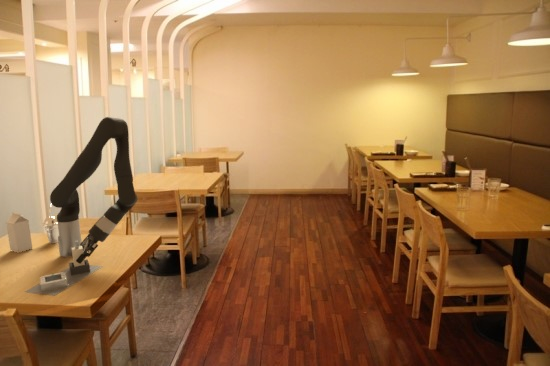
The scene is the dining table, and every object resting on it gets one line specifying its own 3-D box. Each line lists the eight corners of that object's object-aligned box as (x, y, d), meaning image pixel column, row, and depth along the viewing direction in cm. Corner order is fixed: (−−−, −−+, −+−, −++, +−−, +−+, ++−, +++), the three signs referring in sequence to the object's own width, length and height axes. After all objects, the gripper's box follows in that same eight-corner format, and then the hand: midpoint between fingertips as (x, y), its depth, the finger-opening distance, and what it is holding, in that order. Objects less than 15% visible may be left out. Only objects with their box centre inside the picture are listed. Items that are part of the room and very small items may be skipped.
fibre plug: (75, 273, 177) (71, 243, 174) (74, 269, 180) (70, 240, 178) (85, 271, 179) (82, 241, 176) (84, 267, 182) (81, 239, 180)
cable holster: (71, 275, 175) (70, 268, 174) (69, 269, 181) (69, 262, 180) (90, 271, 178) (89, 264, 178) (88, 265, 184) (87, 259, 184)
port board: (24, 295, 161) (24, 291, 160) (76, 267, 187) (75, 263, 187) (55, 299, 157) (54, 295, 157) (103, 269, 184) (103, 266, 183)
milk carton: (18, 253, 206) (12, 215, 202) (10, 251, 210) (4, 214, 206) (32, 248, 212) (27, 212, 208) (25, 246, 215) (19, 210, 212)
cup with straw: (41, 244, 219) (35, 206, 215) (53, 238, 227) (48, 202, 223) (55, 244, 217) (50, 207, 213) (67, 239, 225) (62, 202, 221)
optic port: (41, 292, 160) (40, 284, 159) (40, 283, 167) (39, 276, 167) (67, 286, 164) (66, 278, 163) (66, 278, 172) (65, 271, 171)
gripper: (93, 219, 186) (67, 249, 182) (98, 227, 173) (70, 259, 170) (107, 229, 189) (82, 258, 186) (113, 237, 177) (86, 269, 174)
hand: (76, 259), depth 178 cm, fingers open, 8 cm apart
